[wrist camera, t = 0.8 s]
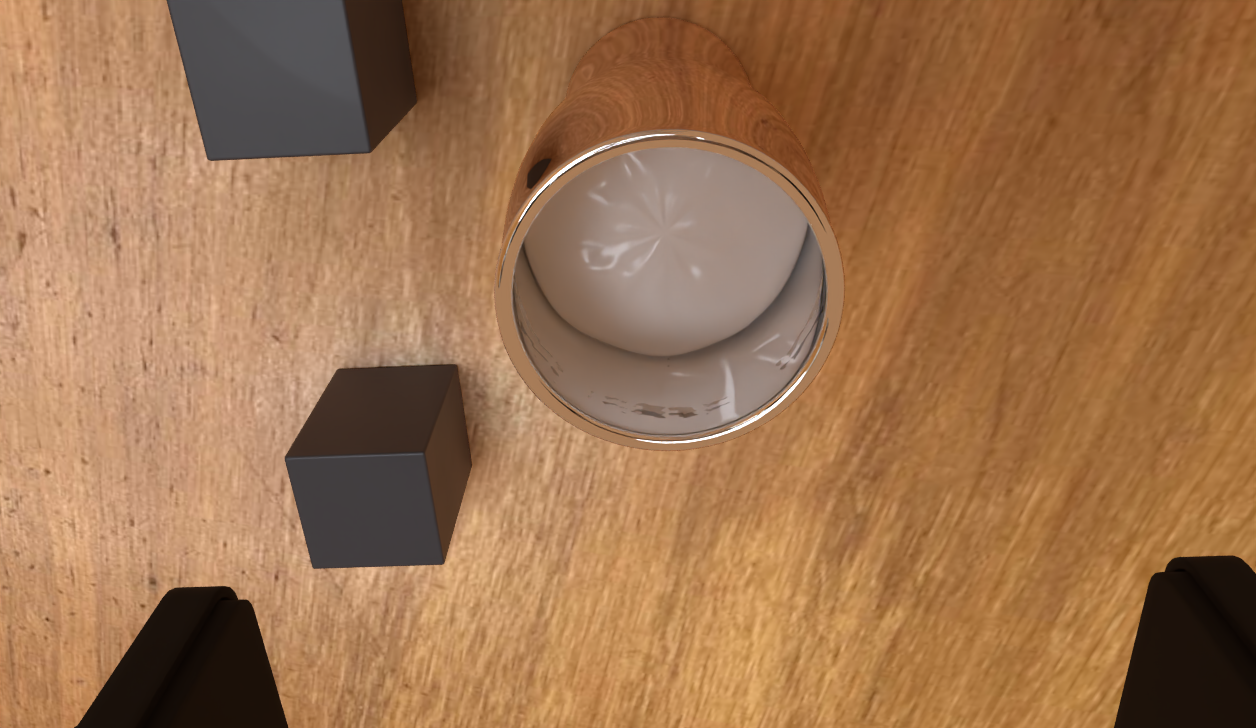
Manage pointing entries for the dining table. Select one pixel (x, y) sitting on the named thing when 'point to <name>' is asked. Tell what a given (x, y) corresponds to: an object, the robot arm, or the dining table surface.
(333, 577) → the dining table surface
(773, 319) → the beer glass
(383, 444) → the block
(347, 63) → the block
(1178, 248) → the dining table surface
